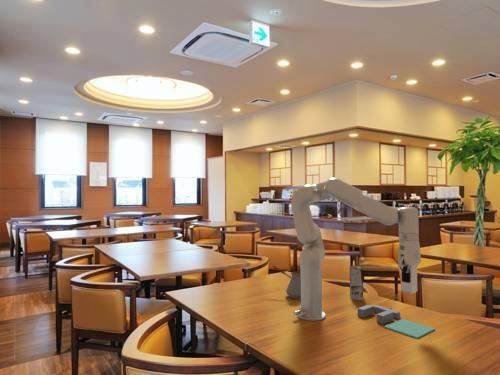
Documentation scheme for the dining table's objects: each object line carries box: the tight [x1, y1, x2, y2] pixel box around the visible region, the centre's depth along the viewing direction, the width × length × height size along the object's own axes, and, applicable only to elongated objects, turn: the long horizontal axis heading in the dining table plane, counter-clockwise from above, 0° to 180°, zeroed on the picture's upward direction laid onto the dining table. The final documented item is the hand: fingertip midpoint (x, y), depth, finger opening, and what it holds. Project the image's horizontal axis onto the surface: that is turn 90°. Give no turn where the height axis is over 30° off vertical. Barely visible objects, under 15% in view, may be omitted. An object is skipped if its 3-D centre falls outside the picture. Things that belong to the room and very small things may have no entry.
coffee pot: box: [271, 265, 301, 300], centre depth 194 cm, size 21×12×15 cm, turn 55°
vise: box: [357, 304, 401, 325], centre depth 162 cm, size 16×13×4 cm
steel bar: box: [400, 263, 418, 294], centre depth 147 cm, size 4×4×12 cm
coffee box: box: [349, 265, 364, 301], centre depth 190 cm, size 9×6×16 cm
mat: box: [383, 318, 436, 340], centre depth 147 cm, size 14×14×1 cm
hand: (409, 280), depth 147 cm, fingers closed on steel bar, 4 cm apart
